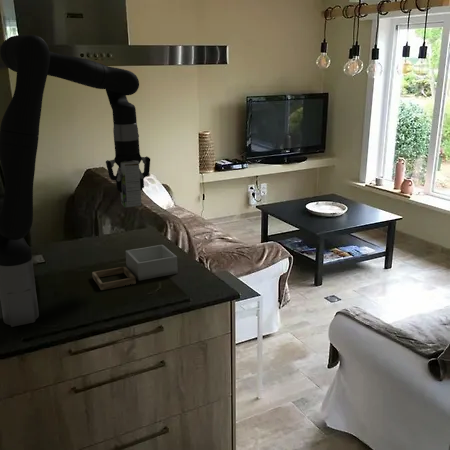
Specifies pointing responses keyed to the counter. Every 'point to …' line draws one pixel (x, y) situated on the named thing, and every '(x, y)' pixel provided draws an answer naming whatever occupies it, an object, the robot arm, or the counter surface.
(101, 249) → the counter surface
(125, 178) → the syrup box
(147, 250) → the bin
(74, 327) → the counter surface
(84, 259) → the counter surface
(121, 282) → the socket collar
